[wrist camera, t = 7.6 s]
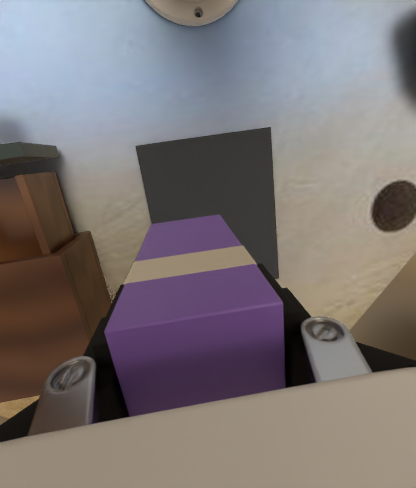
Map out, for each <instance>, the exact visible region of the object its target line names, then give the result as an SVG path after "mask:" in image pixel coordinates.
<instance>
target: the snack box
mask: <svg viewBox="0 0 416 488" xmlns="http://www.w3.org/2000/svg"><path fill="white" fill-rule="evenodd" d="M104 333H105V336H106V340H107V343H108V346H109V350H110V353H111V357H112V360H113V363H114V367H115V370H116V373H117V377H118V380H119V384H120V387H121V390H122V394H123V397H124V400H125V404H126V407H127V410H128V414H129V417H132V416H137V415H143V414H148V413H154V412H159V411H164V410H170V409H175V408H181V407H186V406H191V405H197V404H202V403H208V402H213V401H218V400H224V399H229V398H235V397H240V396H245V395H251V394H256V393H262V392H267V391H272V390H278V389H283V388H286V380H285V349H284V318H283V302H282V300H281V299H280V297H279V296H278V295H277V293H276V292H275V290H274V289H273V288H272V286H271V285H270V284H269V282H268V281H267V279H266V278H265V277H264V275H263V274H262V272H261V271H260V270H259V268H258V267H257V264H256V262H255V261H254V260H253V258H252V257H251V255H250V254H249V253H248V251H247V250H246V249H245V247H244V246H242V245H241V243H240V242H239V240H238V239H237V238H236V236H235V235H234V234H233V232H232V231H231V229H230V228H229V227H228V225H227V224H226V222H225V221H224V220H223V218H222V217H221V216H220V215H211V216H204V217H197V218H190V219H183V220H176V221H169V222H162V223H155V224H151V226H150V228H149V230H148V233H147V235H146V237H145V239H144V242H143V244H142V246H141V249H140V251H139V253H138V255H137V258H136V260H135V262H133V264H132V267H131V269H130V271H129V273H128V275H127V278H126V280H125V282H124V287H123V289H122V292H121V294H120V296H119V299H118V301H117V303H116V305H115V308H114V310H113V312H112V314H111V317H110V319H109V321H108V324H107V326H106V328H105V331H104Z"/></svg>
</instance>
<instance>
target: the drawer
mask: <svg viewBox="0 0 416 488" xmlns="http://www.w3.org/2000/svg"><path fill="white" fill-rule="evenodd" d="M58 157H59V154H58V151H57V148H56V146H51V145H42V144H32V143H23V142H17V143H9V144H2V145H1V144H0V166H1V165H8V164H15V163H22V162H29V161H36V160H44V159H51V158H58ZM74 239H75V234H74V231H73V228H72V225H71V222H70V219H69V215H68V212H67V209H66V206H65V203H64V199H63V196H62V193H61V190H60V187H59V184H58V180H57V177H56V174H55V172H54V171H53V172H43V173H32V174H22V175H15V177H11V178H4V179H0V262H5V261H11V260H17V259H23V258H30V257H36V256H42V255H48V254H55V253H56V252H58V251H59V250H60V249H62V248H63V247H64V246H66V245H67V244H68V243H70V242H71V241H72V240H74Z"/></svg>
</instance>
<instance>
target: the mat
mask: <svg viewBox="0 0 416 488" xmlns="http://www.w3.org/2000/svg"><path fill="white" fill-rule="evenodd" d="M136 150H137V155H138V160H139V165H140V169H141V174H142V179H143V183H144V188H145V193H146V198H147V202H148V207H149V212H150V217H151V221H152V224H155V223H162V222H169V221H176V220H183V219H190V218H197V217H204V216H211V215H220V216H221V217H222V218H223V220H224V221H225V222H226V224H227V225H228V227H229V228H230V229H231V231H232V232H233V234H234V235H235V236H236V238H237V239H238V240H239V242H240V243H241V245H242V246H244V247H245V249H246V250H247V251H248V253H249V254H250V255H251V257H252V258H253V260H254V261H255V262H256V264H259V263H262V264H263V265H264V266H265V268H266V269H267V270H268V271H269V273H270V274H271V275H272V277H273V278H274V279H278V278H279V273H278V254H277V236H276V217H275V199H274V180H273V161H272V143H271V127H268V128H261V129H254V130H246V131H239V132H232V133H225V134H218V135H211V136H203V137H196V138H189V139H182V140H175V141H168V142H160V143H153V144H146V145H139V146H136Z"/></svg>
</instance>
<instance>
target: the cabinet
mask: <svg viewBox="0 0 416 488" xmlns="http://www.w3.org/2000/svg"><path fill="white" fill-rule="evenodd" d="M74 234H75V239H74V240H72V241H71V242H70V243H68V244H67V245H66V246H64V247H63V248H62V249H60V250H59V251H58V252H56V253H55V254H48V255H42V256H36V257H30V258H23V259H17V260H11V261H5V262H0V403H1V402H6V401H11V400H17V399H22V398H27V397H33V396H38V395H40V394H41V391H42V388H43V384H44V382H45V380H46V378H47V376H48V375H49V374H50V372H51V371H52V370H53V369H55V368H56V367H57V366H58V365H60V364H62V363H63V362H65V361H67V360H70V359H72V358H75V357H80V356H83V354H84V352H85V350H86V348H87V346H88V344H89V342H90V340H91V338H92V336H93V334H94V332H95V330H96V328H97V326H98V324H99V322H100V320H101V319H102V318H103V317H106V315H107V313H108V311H109V309H110V306H111V301H110V297H109V294H108V290H107V287H106V284H105V280H104V277H103V273H102V270H101V267H100V263H99V260H98V256H97V253H96V249H95V246H94V243H93V239H92V236H91V232H90V231H87V232H81V233H74Z"/></svg>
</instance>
